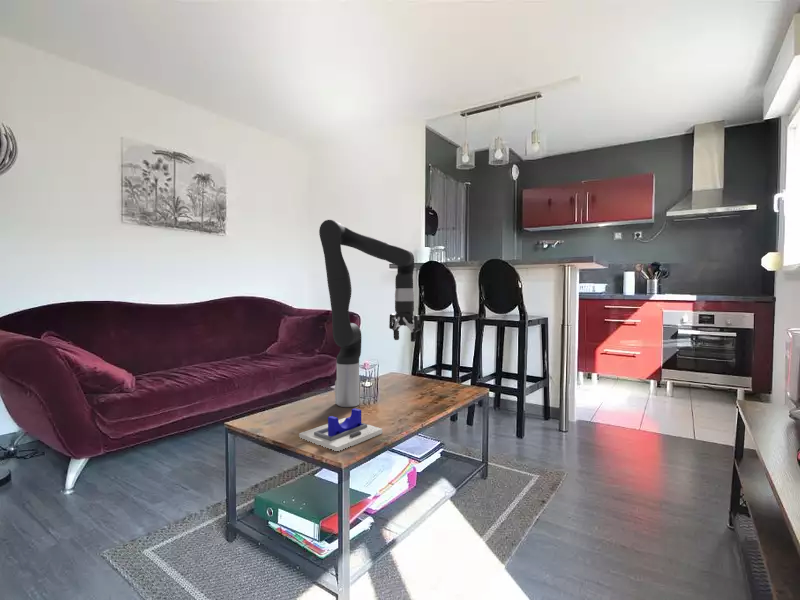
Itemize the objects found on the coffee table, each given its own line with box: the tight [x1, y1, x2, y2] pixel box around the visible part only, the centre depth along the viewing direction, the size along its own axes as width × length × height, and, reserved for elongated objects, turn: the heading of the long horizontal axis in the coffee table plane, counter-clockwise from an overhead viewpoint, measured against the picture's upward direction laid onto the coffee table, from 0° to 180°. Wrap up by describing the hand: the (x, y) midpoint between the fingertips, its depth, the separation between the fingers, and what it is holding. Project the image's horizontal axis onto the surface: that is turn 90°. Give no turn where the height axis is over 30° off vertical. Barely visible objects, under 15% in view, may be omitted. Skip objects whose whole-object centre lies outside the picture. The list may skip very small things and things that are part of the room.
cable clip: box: [327, 407, 362, 437], centre depth 138 cm, size 12×4×6 cm, turn 141°
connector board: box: [298, 417, 383, 452], centre depth 138 cm, size 18×20×2 cm
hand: (404, 340), depth 167 cm, fingers open, 8 cm apart
